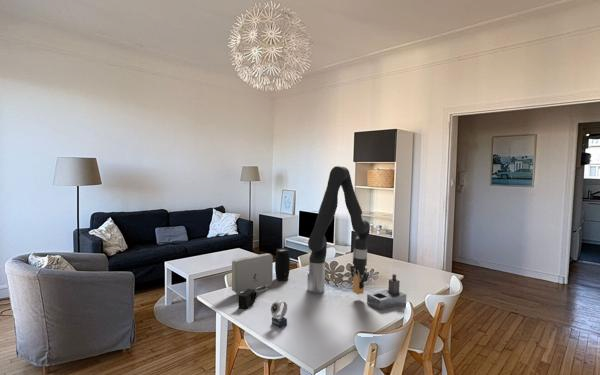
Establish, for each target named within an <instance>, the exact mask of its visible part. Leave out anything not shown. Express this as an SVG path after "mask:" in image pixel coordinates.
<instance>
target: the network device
mask: <svg viewBox="0 0 600 375" xmlns="http://www.w3.org/2000/svg"><path fill="white" fill-rule="evenodd" d="M273 257H274V256H273V254H272V253H261V254H257V255H256V254H255V255H251V256H246V257H241V258H236V259H233V260H232V261H231V291H232V292H234V293H236V294H238V296H239V295H240V294H241V293H243V292H244V291H246V290H247V289H254V290H255V292H257V294H258V293H261V292H264V290H265V291H268V290H269V285H271V284H273V277H274V275H273V272H274V270H273V269H274V268H273V267H274V266H273V265H274V264H273V263H274V258H273ZM262 286H263V287H262ZM264 287H265V288H264ZM258 288H263V289H258ZM267 289H268V290H267Z"/></svg>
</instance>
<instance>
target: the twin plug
mask: <svg viewBox="0 0 600 375" xmlns="http://www.w3.org/2000/svg"><path fill="white" fill-rule="evenodd" d="M387 290H388V293H390V294H392V295H398V294H399V291H400V280H399V279H397V274H396V273H395V274H394V273H393V274H392V278H391V279H388V289H387Z"/></svg>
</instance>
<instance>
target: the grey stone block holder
mask: <svg viewBox="0 0 600 375" xmlns="http://www.w3.org/2000/svg"><path fill="white" fill-rule="evenodd" d="M366 295H367V296H366V297H367V298H366V303H367V304H368V305H370V306H371V307H374V308H375V309H377V310H378V311H382V310H386V309H390V308H396V307H399V306H403V305H406V304H407V293H404V292H401V291H400V290H399V294H398V295H392V294H390V293H388V289H384V290H379V291H376V292H371V293H367V294H366Z"/></svg>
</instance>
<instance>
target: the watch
mask: <svg viewBox="0 0 600 375" xmlns="http://www.w3.org/2000/svg"><path fill="white" fill-rule="evenodd" d="M282 303H283V307H282V310H281V305H282ZM287 311H288V304H287V302H286V301H284V300H282V299H279V300H277V301H275V302H273V303H272V305H271V306H270V312H271V315H272V318H271V325H273V326H275V327H276V328H278V329H282V328H284V327H286V326H288V318H287V317H285V316H286V314H287ZM279 312H280V314H278V313H279Z"/></svg>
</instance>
